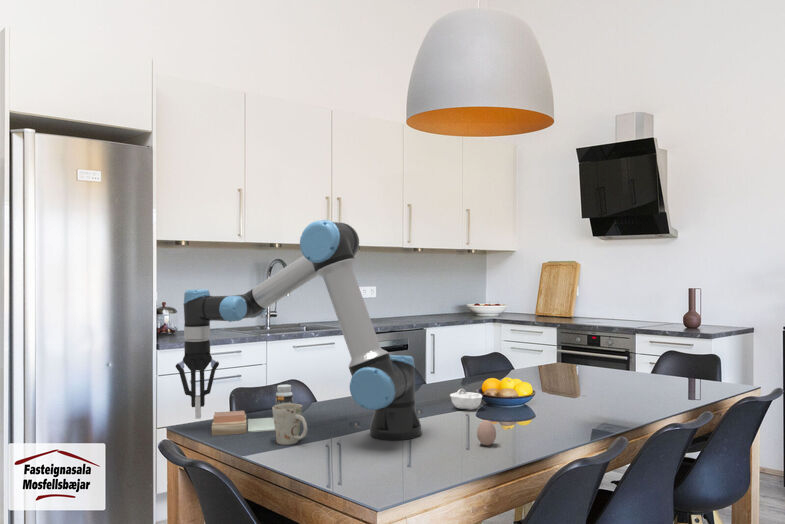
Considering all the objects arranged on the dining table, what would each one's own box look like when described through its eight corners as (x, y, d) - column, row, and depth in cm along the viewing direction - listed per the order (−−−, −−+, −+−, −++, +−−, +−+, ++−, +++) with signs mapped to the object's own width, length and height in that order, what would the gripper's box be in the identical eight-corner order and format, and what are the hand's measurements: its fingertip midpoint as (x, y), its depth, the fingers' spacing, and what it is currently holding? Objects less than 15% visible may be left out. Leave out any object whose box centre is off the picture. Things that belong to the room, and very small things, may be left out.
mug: (288, 436, 193) (288, 402, 193) (319, 443, 185) (318, 407, 185) (266, 442, 186) (266, 407, 186) (297, 450, 178) (296, 412, 178)
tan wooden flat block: (246, 433, 197) (246, 424, 197) (211, 435, 195) (211, 427, 195) (246, 421, 213) (246, 413, 213) (213, 423, 211) (213, 415, 211)
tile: (244, 416, 208) (244, 410, 208) (244, 421, 202) (244, 414, 202) (214, 418, 206) (214, 412, 206) (214, 423, 200) (214, 416, 200)
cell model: (469, 414, 219) (468, 393, 219) (443, 408, 228) (443, 389, 228) (489, 409, 225) (489, 389, 225) (464, 404, 234) (464, 385, 234)
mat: (288, 429, 201) (288, 428, 201) (248, 432, 198) (248, 431, 198) (285, 418, 217) (285, 416, 217) (247, 420, 214) (247, 419, 214)
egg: (473, 445, 180) (472, 420, 180) (485, 441, 184) (484, 417, 184) (488, 449, 177) (488, 423, 177) (500, 445, 180) (499, 420, 180)
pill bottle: (276, 418, 217) (276, 387, 217) (275, 414, 223) (274, 384, 223) (294, 416, 219) (293, 386, 219) (292, 413, 224) (291, 383, 224)
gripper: (219, 337, 207) (220, 413, 207) (176, 339, 204) (176, 416, 204) (218, 340, 200) (219, 418, 200) (173, 342, 197) (174, 421, 197)
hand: (198, 417), depth 202 cm, fingers closed
